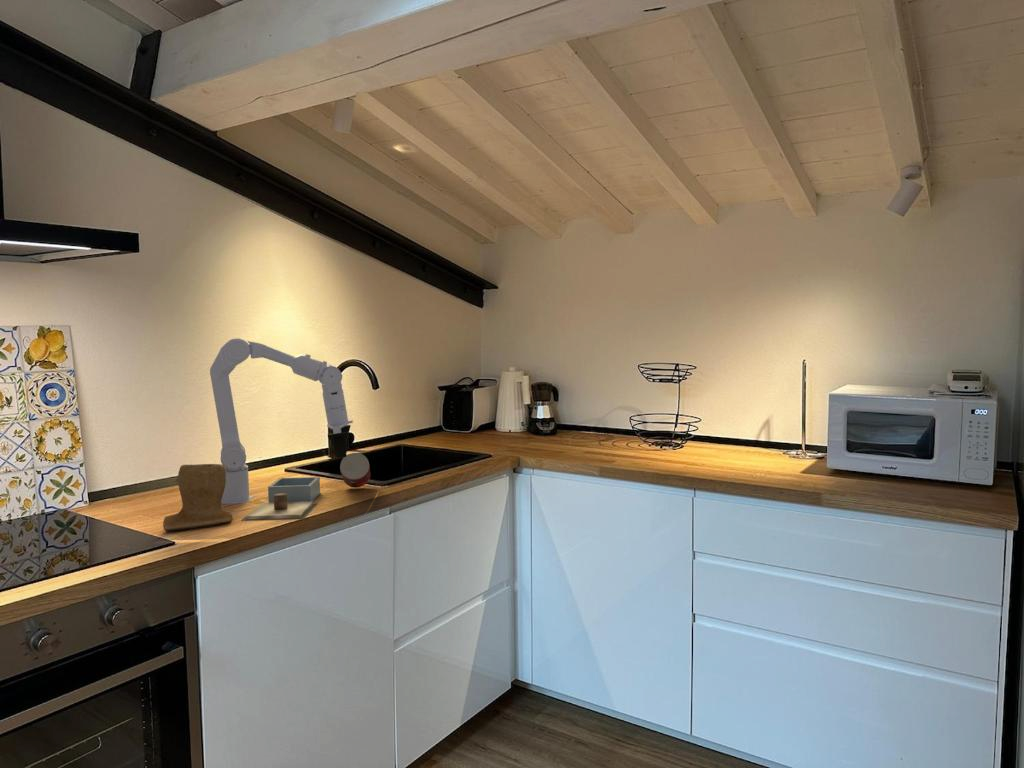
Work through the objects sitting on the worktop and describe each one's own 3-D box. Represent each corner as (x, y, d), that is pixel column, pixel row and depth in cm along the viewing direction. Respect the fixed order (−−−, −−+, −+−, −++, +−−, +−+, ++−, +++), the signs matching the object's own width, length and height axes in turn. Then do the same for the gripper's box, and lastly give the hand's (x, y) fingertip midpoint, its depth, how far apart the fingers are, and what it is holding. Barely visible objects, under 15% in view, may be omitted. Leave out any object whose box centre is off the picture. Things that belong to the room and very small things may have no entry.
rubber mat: (240, 522, 165) (240, 520, 165) (259, 506, 180) (259, 504, 180) (304, 520, 166) (303, 518, 166) (317, 505, 180) (317, 503, 180)
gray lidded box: (268, 505, 181) (268, 486, 180) (280, 495, 192) (279, 477, 191) (311, 504, 181) (310, 485, 181) (320, 494, 192) (319, 477, 192)
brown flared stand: (227, 515, 172) (225, 456, 170) (235, 526, 161) (233, 463, 160) (159, 524, 164) (156, 462, 163) (164, 537, 154) (160, 471, 152)
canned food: (338, 471, 201) (335, 461, 191) (362, 458, 203) (360, 447, 193) (350, 493, 199) (348, 484, 189) (375, 479, 201) (374, 470, 191)
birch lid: (246, 519, 166) (245, 501, 165) (262, 505, 179) (261, 489, 178) (300, 517, 166) (300, 500, 166) (313, 504, 179) (312, 488, 179)
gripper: (348, 408, 188) (356, 456, 189) (351, 401, 202) (358, 446, 204) (321, 412, 187) (330, 461, 188) (326, 405, 201) (334, 450, 202)
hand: (343, 453), depth 196 cm, fingers open, 7 cm apart
